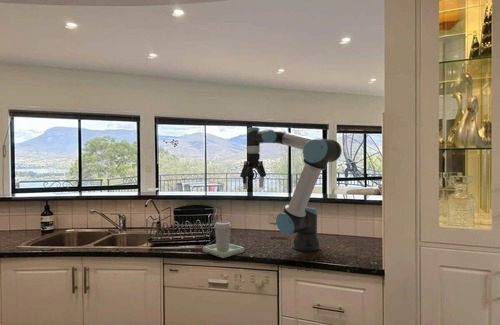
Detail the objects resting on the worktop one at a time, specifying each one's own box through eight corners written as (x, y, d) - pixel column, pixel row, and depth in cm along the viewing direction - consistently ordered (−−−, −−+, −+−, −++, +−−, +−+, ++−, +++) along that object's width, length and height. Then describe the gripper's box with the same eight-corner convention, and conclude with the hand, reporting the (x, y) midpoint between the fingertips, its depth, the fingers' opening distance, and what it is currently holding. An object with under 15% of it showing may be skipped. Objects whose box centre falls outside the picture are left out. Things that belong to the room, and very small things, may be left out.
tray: (244, 252, 176) (244, 247, 176) (223, 258, 165) (223, 253, 165) (223, 246, 188) (223, 241, 188) (202, 251, 177) (202, 246, 177)
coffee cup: (234, 249, 179) (234, 222, 178) (226, 253, 170) (226, 225, 170) (219, 247, 183) (219, 220, 182) (210, 251, 174) (210, 223, 174)
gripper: (262, 153, 207) (262, 186, 207) (234, 153, 189) (234, 189, 190) (271, 153, 202) (271, 187, 202) (243, 152, 184) (243, 190, 184)
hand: (253, 188), depth 196 cm, fingers open, 13 cm apart
